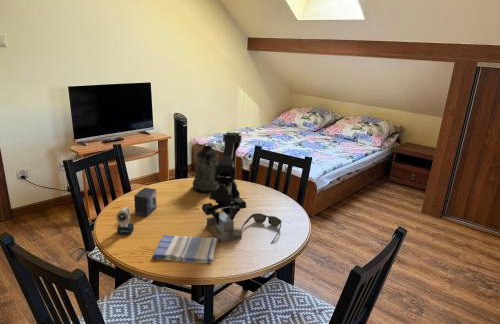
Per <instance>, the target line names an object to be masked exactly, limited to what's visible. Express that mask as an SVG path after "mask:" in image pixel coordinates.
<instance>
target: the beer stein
mask: <svg viewBox="0 0 500 324" xmlns="http://www.w3.org/2000/svg"><path fill="white" fill-rule="evenodd" d="M195 158H196V159H197V161H196V167H195V174H194V179H193V181H192V187H193V190H194V191H195V192H196V193H198V194H202V195H203V194H204V195H209V192H214V193H215V190H216V188H217V186H218V182H217V181H215V173H216V165H218V162H219V161H218V160H219V159H218V158H219V154H218V152H217V151H216V150H214V149H213V148H212V146H210V145H205V146H203V147H202V149H200V150H199V151H198V152H196V155H195ZM217 177H221V176H218V175H217Z"/></svg>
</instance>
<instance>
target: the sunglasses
mask: <svg viewBox="0 0 500 324" xmlns="http://www.w3.org/2000/svg"><path fill="white" fill-rule="evenodd" d="M251 219H253V221H254V222H255V223H257V224H259V223H260V224H263V223H265V221H266V219H268V221H267V222H268V224H269V225H270V226H273V227H276V228H278V227H279V228H278V230H277V233H276V234H275V235H276V236H275V237H274V238H273V239H272V241H271V242H270V245H271V244H273V243H274V242H275V240H276V239H277V237H278V235H279V232H280V231H281V228H282V220H281V219H280V218H278V217H277V216H273V215H270V216H269V215H266V214H263V213H257V212H256V213H252V214H251V215H249V217H248V218H247V219H246V220H245V221H244V223H243V224H242V227H241V229H242V230H243V229H244V227H245V226H246V224H247V223H249V221H250V220H251Z"/></svg>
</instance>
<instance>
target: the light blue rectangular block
mask: <svg viewBox="0 0 500 324" xmlns="http://www.w3.org/2000/svg"><path fill="white" fill-rule="evenodd" d="M218 213H219V224H218V225H217V224H216V221H215V226H216V227H217V228H218V229H219V230H220V232H221V233H222V232H227V231H231V230H233V229H234V228H235V227H234V225H235V222H234V221H233V220H231V219H230V218H229V217H230V216H229V215H228V214H227V215H228V216H227V215H226V213H225V212H224V211H218Z"/></svg>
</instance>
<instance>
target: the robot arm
mask: <svg viewBox="0 0 500 324" xmlns="http://www.w3.org/2000/svg"><path fill="white" fill-rule="evenodd" d="M222 143H224V147H223V151H222V152H223V153H222V157H221V158H219V159H218V161H217V162H218V165H216V173H215V181H217V182H218V186H217V188H216V190H215V193H214V192H209V194H208V197H209V200H212V201H213V202H215V203H216V204H213V203H212V202H208V203H203V204H202V205H201V211H203V213H204V214H205V215H206V216H211V215H212V217H214V218H215V221H216V224H217V225H218V224H219V213H218V212H219V210H222V212H224V213H225V214H227V215H229V216H228V217H229V218H230V219H231V220H232V221H233V220H234V219H235V217H236V215H237V214H238V213H239V212H241V210H242V209H243V210H244V209H246V208H247V202H246V201H245V200H244V199H243V198H242V197H241V195H240V191H239V189H238V185H237V181H236V176H237V175H236V174H237V172H236V171H237V168H236V164H237V163H236V161H237V150H238V149H239V148H240V146H241V143H242V135H240V133H239V132H229V131H226V134H225V133H224V134H223V135H222ZM217 175H218V176H220V177H217Z"/></svg>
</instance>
